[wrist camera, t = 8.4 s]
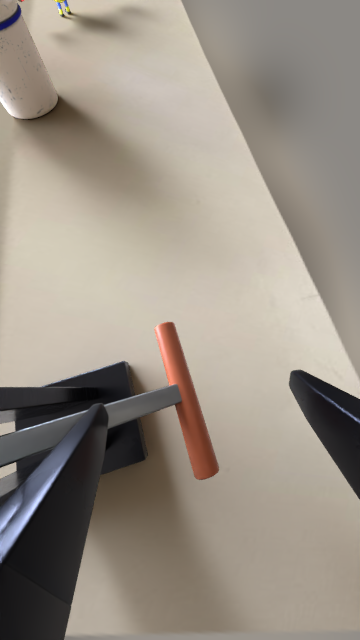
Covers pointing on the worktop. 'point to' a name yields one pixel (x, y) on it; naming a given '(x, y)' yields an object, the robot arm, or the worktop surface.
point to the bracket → (66, 400)
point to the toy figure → (67, 10)
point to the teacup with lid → (22, 68)
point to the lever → (133, 414)
